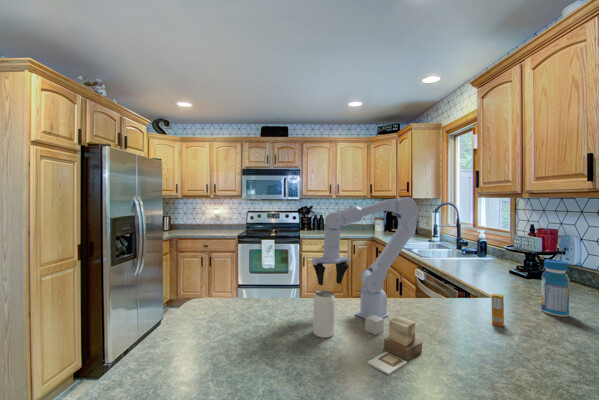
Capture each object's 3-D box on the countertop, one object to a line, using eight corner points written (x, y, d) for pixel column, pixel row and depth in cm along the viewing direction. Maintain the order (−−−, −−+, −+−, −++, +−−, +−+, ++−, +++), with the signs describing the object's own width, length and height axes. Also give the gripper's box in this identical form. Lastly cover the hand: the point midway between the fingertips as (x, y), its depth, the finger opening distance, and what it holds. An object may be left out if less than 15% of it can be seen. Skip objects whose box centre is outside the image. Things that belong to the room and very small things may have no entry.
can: (316, 339, 82) (318, 297, 82) (310, 329, 88) (311, 290, 88) (337, 337, 83) (339, 296, 84) (329, 328, 90) (330, 289, 90)
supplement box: (491, 321, 99) (492, 292, 99) (504, 324, 97) (504, 295, 97) (490, 324, 97) (491, 294, 97) (503, 327, 94) (503, 297, 95)
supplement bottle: (554, 317, 105) (555, 263, 106) (534, 308, 114) (535, 258, 114) (576, 317, 106) (577, 263, 106) (554, 309, 114) (555, 259, 114)
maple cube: (397, 333, 81) (398, 316, 81) (414, 340, 78) (415, 322, 78) (388, 339, 78) (389, 320, 78) (406, 346, 74) (406, 327, 74)
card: (385, 353, 75) (385, 351, 75) (406, 363, 71) (406, 361, 71) (367, 363, 70) (367, 361, 70) (388, 375, 66) (388, 372, 66)
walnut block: (398, 343, 82) (399, 332, 82) (421, 353, 77) (422, 342, 77) (383, 349, 78) (384, 338, 78) (407, 361, 72) (407, 349, 72)
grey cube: (372, 327, 92) (373, 314, 92) (383, 331, 88) (383, 318, 89) (365, 330, 89) (365, 317, 89) (376, 335, 86) (376, 321, 86)
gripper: (319, 248, 96) (317, 288, 95) (355, 247, 102) (353, 285, 101) (310, 244, 102) (307, 282, 102) (344, 244, 108) (342, 280, 108)
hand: (329, 283), depth 102 cm, fingers open, 7 cm apart
